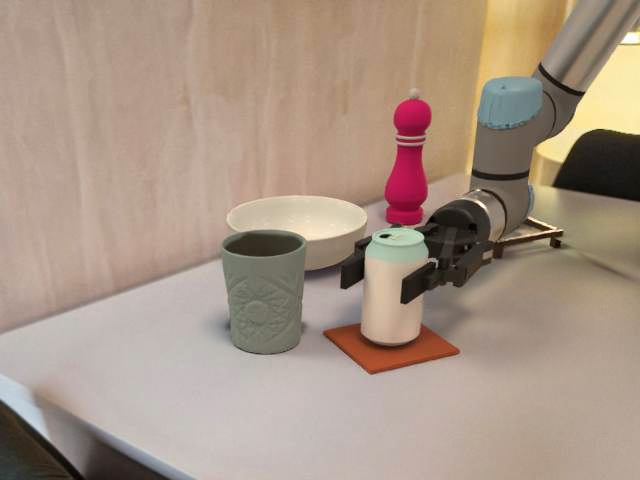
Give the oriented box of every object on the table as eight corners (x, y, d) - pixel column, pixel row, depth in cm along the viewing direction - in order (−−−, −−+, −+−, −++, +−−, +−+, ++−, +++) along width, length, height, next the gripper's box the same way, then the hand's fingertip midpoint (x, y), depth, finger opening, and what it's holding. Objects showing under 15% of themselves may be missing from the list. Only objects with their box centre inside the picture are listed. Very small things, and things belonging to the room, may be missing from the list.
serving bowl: (215, 284, 110) (212, 236, 106) (242, 237, 126) (241, 193, 122) (360, 290, 107) (363, 240, 102) (369, 240, 123) (372, 196, 119)
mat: (459, 353, 90) (460, 349, 90) (370, 374, 87) (370, 370, 86) (405, 316, 99) (406, 312, 99) (323, 334, 96) (323, 330, 95)
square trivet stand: (560, 246, 118) (563, 230, 116) (495, 259, 114) (498, 242, 113) (511, 225, 127) (514, 209, 125) (450, 236, 123) (452, 220, 122)
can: (362, 348, 90) (369, 246, 82) (358, 323, 95) (364, 226, 88) (422, 348, 89) (434, 245, 82) (415, 323, 95) (425, 225, 88)
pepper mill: (403, 229, 127) (415, 94, 115) (373, 219, 132) (382, 88, 119) (434, 220, 130) (448, 87, 118) (403, 210, 135) (414, 82, 123)
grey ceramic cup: (253, 364, 90) (250, 263, 82) (210, 335, 96) (203, 239, 89) (322, 341, 94) (325, 243, 86) (276, 315, 101) (274, 222, 93)
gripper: (398, 186, 101) (299, 234, 87) (545, 211, 91) (461, 269, 77) (393, 243, 106) (298, 297, 92) (533, 272, 96) (451, 337, 82)
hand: (373, 284), depth 84 cm, fingers closed on can, 7 cm apart
